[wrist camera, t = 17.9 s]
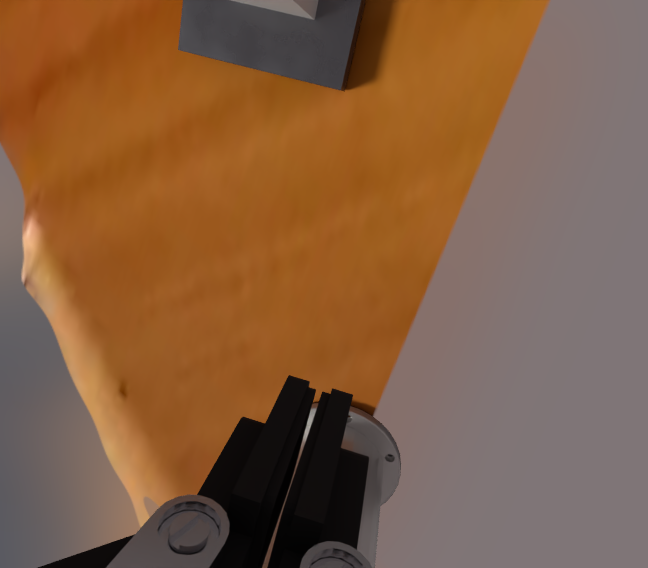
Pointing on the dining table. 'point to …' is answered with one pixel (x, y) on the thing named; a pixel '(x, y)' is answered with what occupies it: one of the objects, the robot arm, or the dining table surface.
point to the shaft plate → (276, 38)
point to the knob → (287, 6)
